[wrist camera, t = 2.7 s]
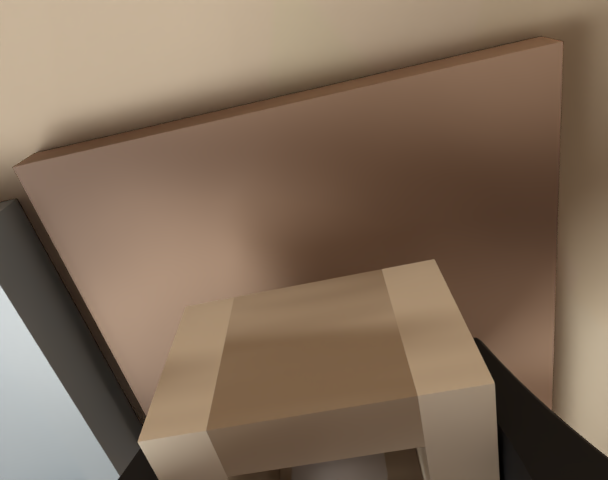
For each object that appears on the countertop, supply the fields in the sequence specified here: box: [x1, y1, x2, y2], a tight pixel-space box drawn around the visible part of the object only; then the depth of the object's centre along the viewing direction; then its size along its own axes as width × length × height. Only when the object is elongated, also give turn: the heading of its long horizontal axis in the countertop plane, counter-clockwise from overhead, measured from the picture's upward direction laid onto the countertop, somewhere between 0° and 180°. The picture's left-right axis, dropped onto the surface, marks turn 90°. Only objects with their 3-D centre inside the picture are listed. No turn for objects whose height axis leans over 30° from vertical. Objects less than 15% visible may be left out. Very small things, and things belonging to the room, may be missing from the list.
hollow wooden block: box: [138, 259, 500, 480], centre depth 10 cm, size 5×5×4 cm
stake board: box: [12, 36, 563, 480], centre depth 13 cm, size 18×12×6 cm, turn 13°
